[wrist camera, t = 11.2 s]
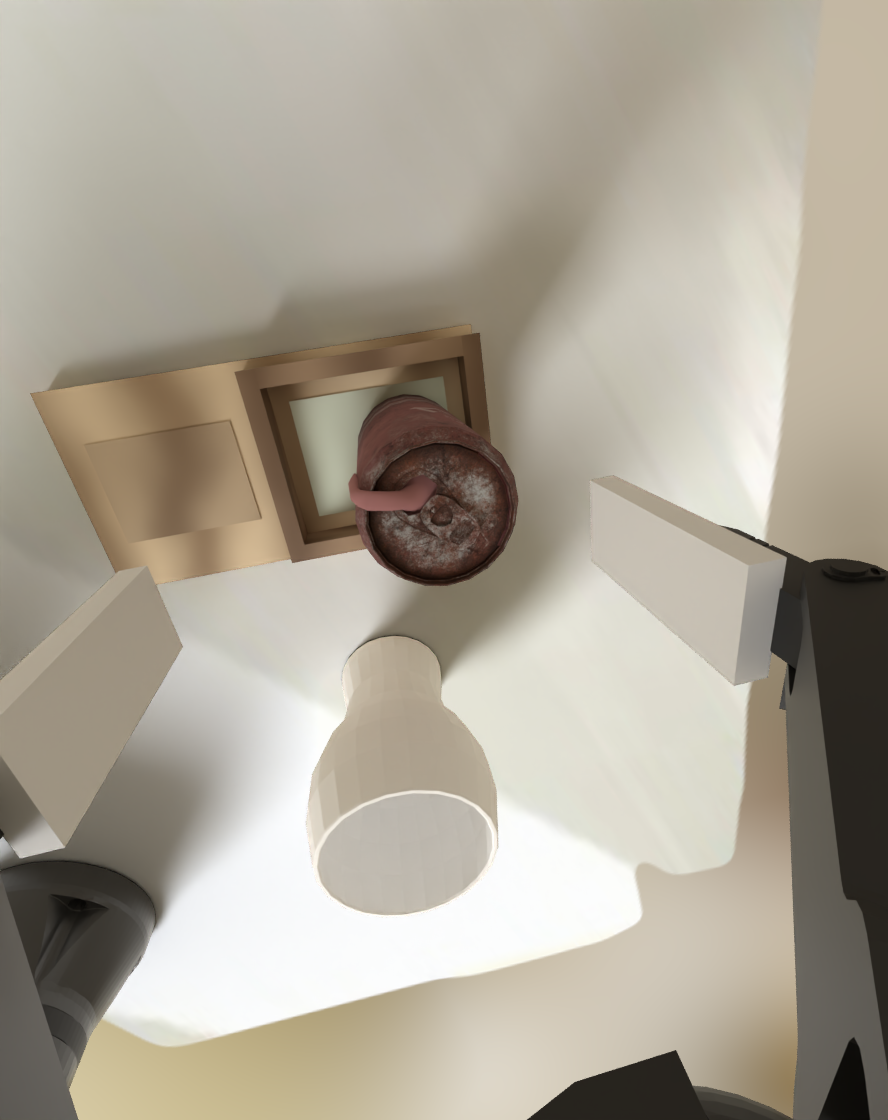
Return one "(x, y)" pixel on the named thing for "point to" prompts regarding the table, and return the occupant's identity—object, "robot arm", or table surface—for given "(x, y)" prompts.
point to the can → (430, 493)
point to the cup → (400, 790)
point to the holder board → (246, 449)
